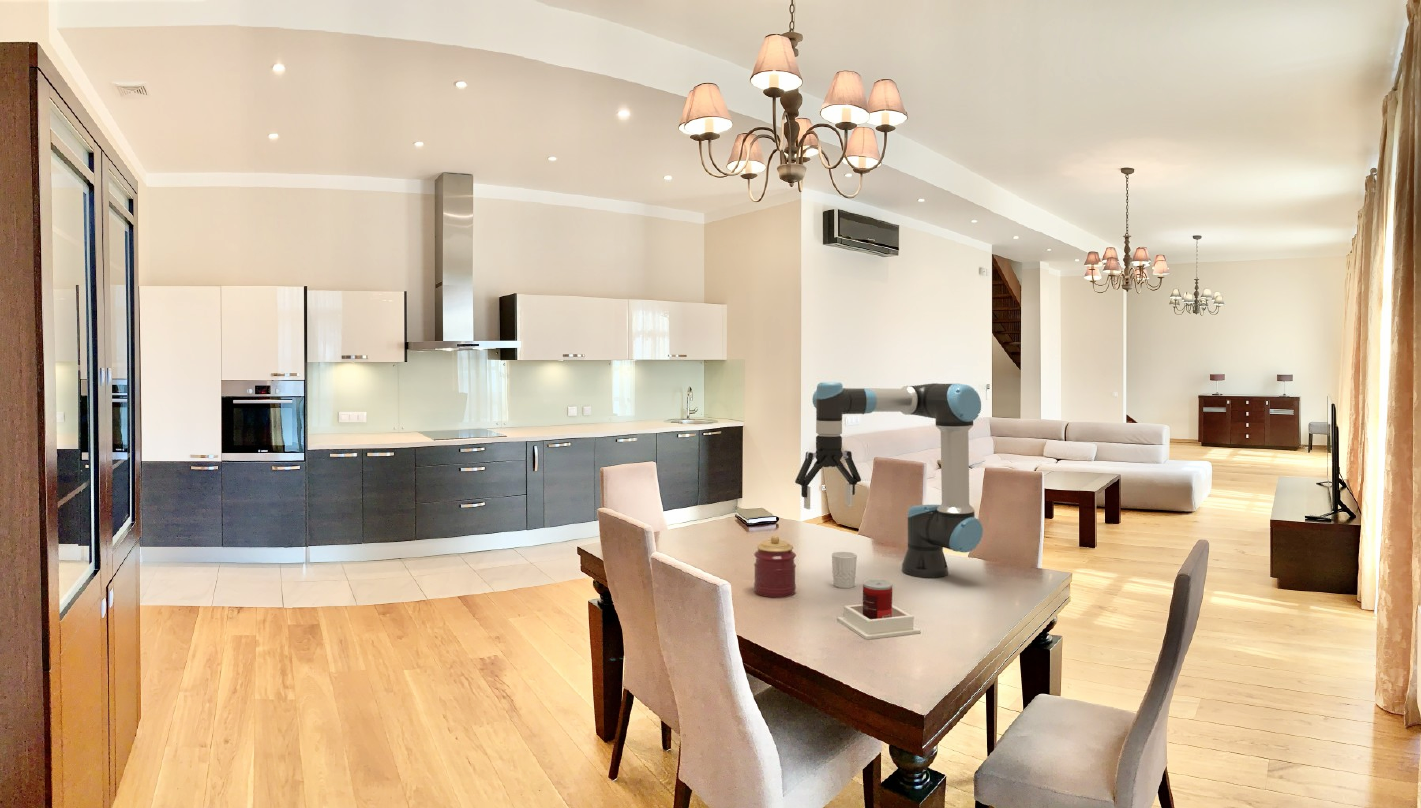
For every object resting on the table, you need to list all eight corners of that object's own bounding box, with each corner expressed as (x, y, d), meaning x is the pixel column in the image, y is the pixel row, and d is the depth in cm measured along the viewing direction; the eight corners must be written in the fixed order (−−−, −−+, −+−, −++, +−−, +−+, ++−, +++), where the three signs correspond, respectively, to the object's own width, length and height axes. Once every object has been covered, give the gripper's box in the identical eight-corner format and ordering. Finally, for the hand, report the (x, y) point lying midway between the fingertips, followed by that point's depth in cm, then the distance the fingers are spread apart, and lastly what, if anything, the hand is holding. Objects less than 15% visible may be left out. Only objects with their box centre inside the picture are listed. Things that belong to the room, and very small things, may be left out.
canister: (802, 596, 232) (802, 538, 231) (762, 599, 229) (762, 541, 228) (786, 584, 245) (786, 530, 244) (748, 587, 241) (748, 532, 240)
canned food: (892, 620, 207) (893, 580, 207) (890, 630, 200) (891, 588, 199) (864, 617, 210) (864, 578, 209) (860, 626, 202) (861, 585, 201)
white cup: (856, 589, 239) (856, 558, 239) (830, 588, 241) (831, 556, 241) (856, 582, 247) (856, 552, 247) (832, 581, 249) (832, 550, 248)
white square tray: (888, 614, 215) (888, 599, 215) (920, 633, 200) (920, 617, 200) (837, 620, 210) (837, 604, 210) (866, 639, 195) (866, 623, 195)
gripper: (860, 433, 230) (859, 502, 231) (784, 435, 222) (783, 507, 223) (873, 435, 223) (872, 507, 223) (795, 437, 215) (794, 511, 216)
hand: (828, 507), depth 223 cm, fingers open, 13 cm apart
